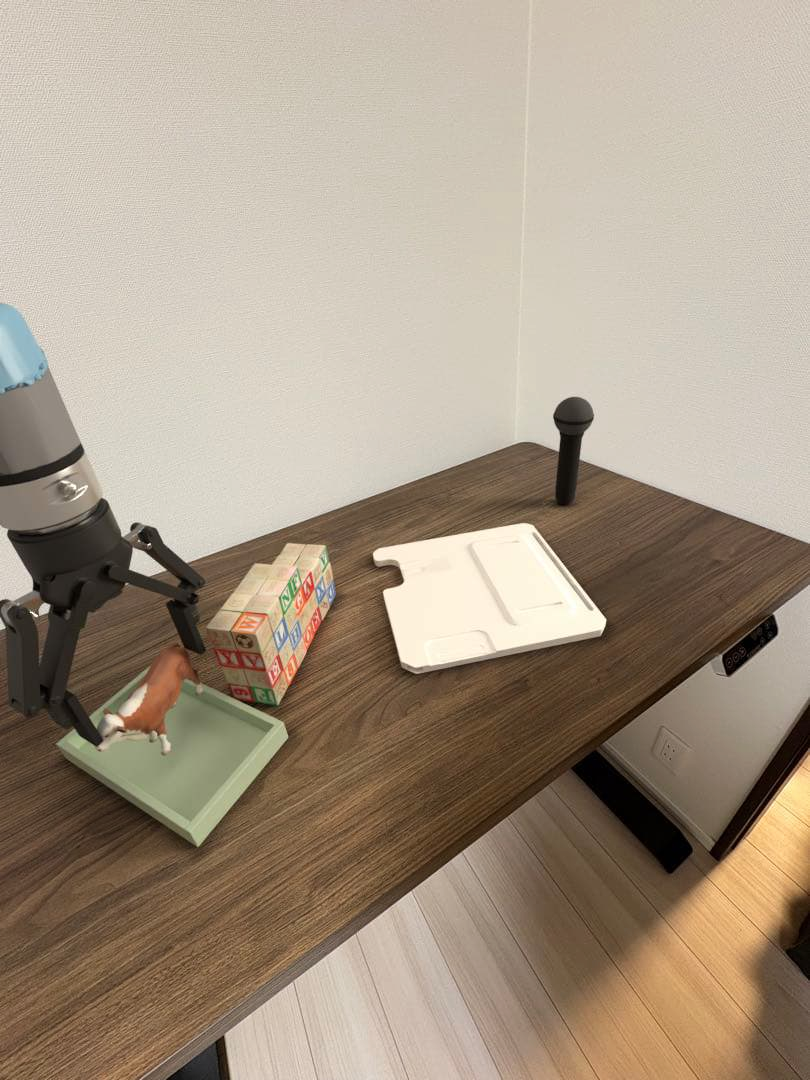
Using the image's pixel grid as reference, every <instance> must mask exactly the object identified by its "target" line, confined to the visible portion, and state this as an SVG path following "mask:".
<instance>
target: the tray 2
mask: <svg viewBox="0 0 810 1080" xmlns="http://www.w3.org/2000/svg"><path fill="white" fill-rule="evenodd" d="M372 558H373V563H374V565H375V567H377V568H380V567H385V566H393V567H394V566H395V567H397V568H398V569H399V571H400V573H401V577H402V580H403V583H401V584H400V585H398V586H394V587H390V588H385V589H384V590H383V592H382V595H383V601H384V605H385V608H386V613H387V616H388V620H389V625H390V629H391V632H392V636H393V640H394V643H395V647H396V649H397V650H396V651H397V655H398V658H399V662H400V665H401V668H402V669H404V670H406V671H408V672H411V673H412V674H415V675H417V674H418V675H420V674H424V673H429V672H433V671H438V670H443V669H449V668H452V667H456V666H463V665H467V664H472V663H476V662H477V663H478V662H481V661H486V660H493V659H497V658H501V657H506V656H511V655H516V654H521V653H525V652H530V651H536V650H540V649H546V648H550V647H555V646H560V645H563V644H569V643H574V642H579V641H583V640H589V639H593V638H599V637H601V636H602V634H603V632H604V630H605V628H606V624H607V618H606V617H605V616H604V615H603V613H602V612H601V611H600V609H599V608H598V607H597V605H596V604H595V603H594V602H593V600H592V599H591V598H590V596H589V595H588V594H587V593H586V591H585V590H584V589H583V587H582V586H581V584H579V582H578V581H577V580H576V578H575V577H574V576H573V575H572V573H571V572H570V571H569V570H568V568H567V567H566V566H565V564H564V563H563V562H562V561H561V559H560V558H559V556H558V555H557V554H556V553H555V551H554V550H553V549H552V547H551V546H550V545H549V544H548V543H547V541H546V540H545V539H544V537H543V536H542V534H541V533H540V532H539V531H538V529H537V528H536V527H535V526H534V525H533V524H530V523H527V522H520V523H516V524H515V523H514V524H509V525H504V526H498V527H493V528H486V529H481V530H475V531H470V532H464V533H457V534H453V535H446V536H441V537H435V538H430V539H423V540H417V541H413V542H407V543H401V544H395V545H390V546H383V547H379V548H377V549H376V550H375V551H374V552H372Z"/></svg>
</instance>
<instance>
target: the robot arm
mask: <svg viewBox="0 0 810 1080" xmlns="http://www.w3.org/2000/svg"><path fill="white" fill-rule="evenodd" d="M103 496H104V493H103V488H102V486H101V484H100V481H99V479H98V477H97V474H96V472H95V471H94V468H93V466H92V464H91V461H90V459H89V457H88V454H87V452H86V450H85V448H84V446H83V444H82V442H81V439H80V437H79V435H78V432H77V430H76V427H75V425H74V423H73V421H72V419H71V416H70V413H69V411H68V409H67V406H66V404H65V402H64V400H63V398H62V395H61V393H60V391H59V388H58V385H57V384H56V381H55V379H54V377H53V375H52V372H51V370H50V368H49V363H48V358H47V356H46V354H45V351H44V350H43V348H42V347H41V346H40V345H39V344H38V342H37V340H36V338H35V336H34V334H33V332H32V331H31V328H30V327H29V325H28V322H27V321H26V319H25V317H24V316H23V314H22V312H20V311H19V310H18V309H17V308H16V307H14V306H12V305H11V304H8V303H5V302H0V526H1V527H2V528H4V529H7V532H6V536H7V539H8V540H9V542H10V544H11V545H12V547H13V549H14V550H15V552H16V554H17V555H18V557H19V559H20V561H21V563H22V564H23V566H24V567H25V569H26V571H27V572H28V574H29V576H30V577H31V580H32V591H30V592H27V593H26V594H24V595H22V596H20V597H18V598H15V599H14V600H11V599H9V598H4V599H1V600H0V620H1V622H2V624H3V626H4V627H5V651H6V671H7V674H6V675H7V695H8V699H7V700H8V706H9V707H10V708H12V709H13V710H15V711H16V712H18V713H19V714H21V715H22V716H24V717H26V718H28V719H31V718H34V717H36V716H37V715H38V714H39V713H40V711H42V710H45V711H46V712H47V714H48V715H49V717H50V718H51V720H52V721H53V722H54V723H55V724H57V725H58V726H60V727H61V728H62V729H65V730H69V729H71V728H72V727H73V729H74V728H75V730H76V731H77V733H78V734H79V736H80V737H82V738H83V739H85V740H87V741H88V742H90V743H91V744H93V745H94V746H96V747H97V746H99V745H100V744H101V743H102V742H103V741H104V740H103V738H102V737H101V735H100V734H99V732H98V730H97V729H96V727H95V726H94V724H93V723H92V721H91V719H90V718H89V716H90V715H88V713H87V711H86V710H85V708H84V706H83V705H82V704H81V702H80V700H79V699H78V697H77V696H76V694H74V693H73V692H72V691H70V690H67V686H68V683H69V679H70V673H71V670H72V666H73V661H74V658H75V657H74V656H75V654H76V649H77V645H78V640H79V636H80V632H81V630H83V629H84V628H85V626H86V624H87V619H88V614H89V613H92V614H94V613H95V612H96V611H98V610H99V609H101V608H102V607H103V606H104V605H105V604H106V603H107V602H108V601H110V600H112V599H116V598H117V597H119V596H120V595H122V594H123V593H124V592H123V590H124V588H125V586H126V584H128V585H131V586H134V587H137V588H140V589H144V590H146V591H149V592H153V593H155V594H159V595H161V596H164V597H166V598H170V600H169V601H167V602H166V603H165V605H166V608H167V611H168V613H169V615H170V618H171V620H172V622H173V624H174V627H175V629H176V632H177V635H178V636H179V638H180V641H181V643H182V645H183V649H185V650H189V651H191V652H193V653H195V654H197V655H200V656H201V655H204V653H205V652H206V651H207V649H206V647H205V644H204V642H203V639H202V637H201V633H200V632H199V629H198V627H197V624H198V623H199V622H200V621H201V617H200V613H199V611H198V608H197V606H196V605H197V604H198V603H199V601H200V596H199V594H197V593H196V591H197V590H198V589H199V590H200V589H202V588H204V587H205V584H206V579H205V577H203V576H202V575H201V574H199V572H197V571H196V570H195V569H194V568H193V567H192V566H190V565H189V564H188V563H187V562H185V560H183V559H182V558H181V557H180V556H179V555H177V554H176V553H175V552H174V551H173V550H172V549H170V548H169V547H168V546H167V545H166V544H165V543H164V540H163V539H162V537H161V535H160V533H159V531H158V529H157V528H156V527H155V526H151V525H148V524H145V523H141V522H135V521H134V522H133V523H132V524H131V525H130V527H129V530H130V531H129V532H127V534H125V535H124V536H122V531H121V527H120V526H119V524H118V521H117V519H116V517H115V514H114V512H113V510H112V508H111V505H110V503H109V501H108V500H107V499H105V498H104V497H103ZM134 549H135V550H139V551H141V552H144V553H145V554H146V555H148V556H149V557H150V558H151V559H152V560H154V561H155V562H156V563H157V564H158V565H160V566H161V567H162V568H164V569H165V570H166V571H167V572H169V573H170V574H171V575H172V576H174V577H175V578H176V579H177V580H178V581H180V582H179V583H178V585H177V586H175V585H173V584H170V583H167V582H165V581H162V580H159V579H156V578H154V577H152V576H148V575H146V574H142V573H141V572H138V571H134V570H132V569H130V567H131V562H132V557H133V553H134ZM44 604H47V605H49V609H48V613H47V620H48V622H49V624H48V627H47V628H48V629H47V633H46V637H45V641H44V646H43V648H42V649H43V650H42V652H41V653H42V654H41V658H40V647H39V646H40V643H39V631H38V627H37V624H36V623H38V622H39V621H40V619H41V616H40V612H39V611H40V608H41V607H42V606H43V605H44ZM68 611H69V612H70V613H68Z"/></svg>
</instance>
